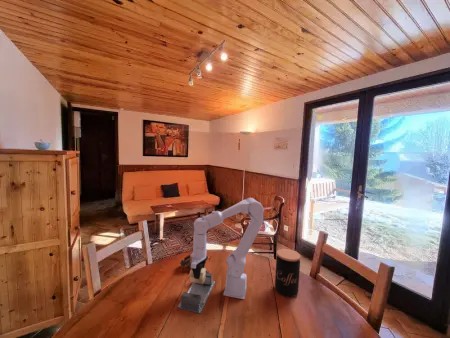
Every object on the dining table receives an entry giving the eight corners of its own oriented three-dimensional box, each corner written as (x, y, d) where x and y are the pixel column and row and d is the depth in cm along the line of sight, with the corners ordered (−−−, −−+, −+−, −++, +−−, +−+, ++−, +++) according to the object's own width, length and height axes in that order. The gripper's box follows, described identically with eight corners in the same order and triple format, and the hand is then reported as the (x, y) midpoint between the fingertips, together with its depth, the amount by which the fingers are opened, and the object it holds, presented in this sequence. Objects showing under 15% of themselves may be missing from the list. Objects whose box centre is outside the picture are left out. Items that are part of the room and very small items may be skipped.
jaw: (214, 277, 101) (215, 268, 101) (210, 285, 94) (211, 276, 94) (200, 274, 103) (200, 266, 103) (195, 282, 96) (195, 273, 96)
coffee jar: (272, 293, 92) (274, 255, 91) (277, 281, 101) (279, 246, 100) (296, 301, 87) (298, 261, 86) (299, 288, 96) (301, 252, 95)
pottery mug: (193, 277, 102) (186, 263, 102) (182, 278, 108) (175, 265, 107) (206, 261, 112) (199, 248, 112) (195, 263, 118) (189, 251, 117)
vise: (215, 282, 98) (215, 272, 98) (200, 313, 78) (201, 301, 78) (196, 278, 100) (196, 269, 100) (177, 308, 80) (177, 296, 80)
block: (205, 278, 90) (205, 268, 89) (202, 284, 86) (202, 272, 86) (193, 276, 91) (193, 266, 91) (189, 281, 87) (190, 270, 87)
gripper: (197, 238, 96) (196, 265, 96) (184, 251, 81) (183, 283, 82) (211, 240, 94) (210, 268, 95) (200, 254, 80) (199, 286, 81)
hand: (198, 275), depth 88 cm, fingers closed on block, 4 cm apart
